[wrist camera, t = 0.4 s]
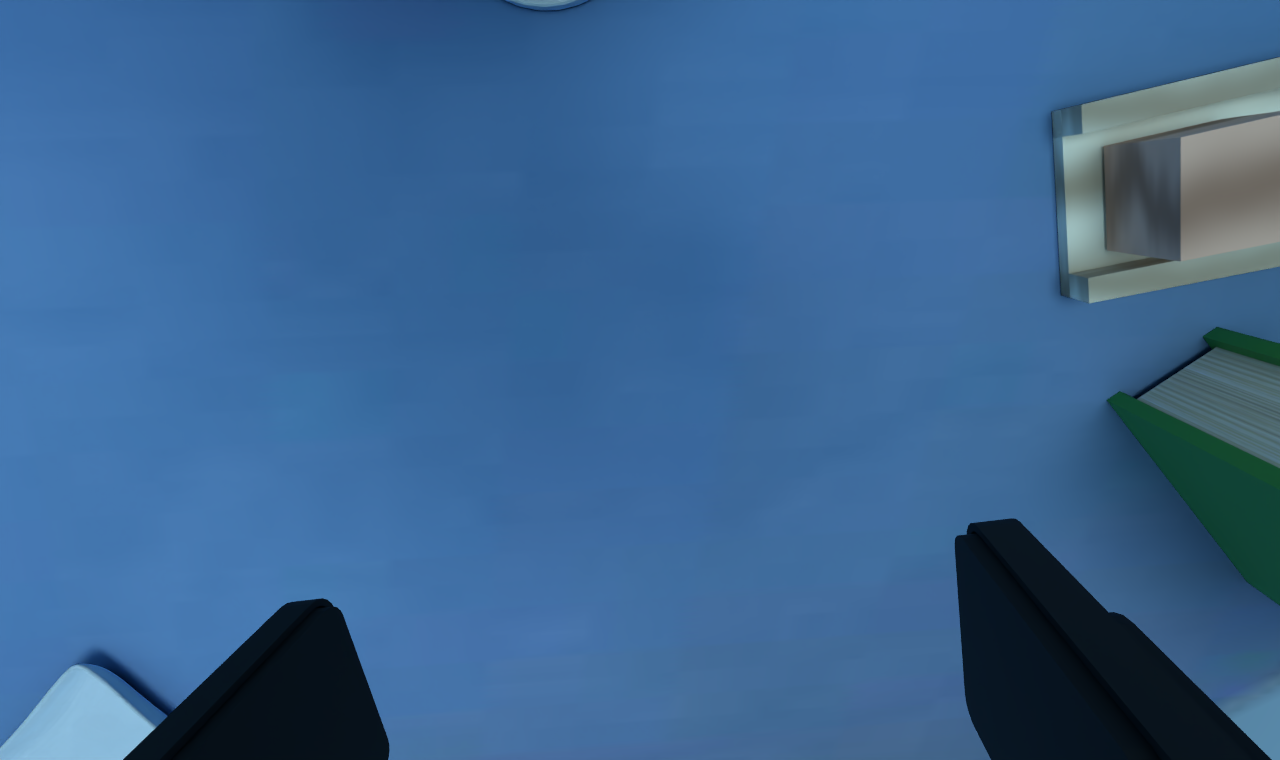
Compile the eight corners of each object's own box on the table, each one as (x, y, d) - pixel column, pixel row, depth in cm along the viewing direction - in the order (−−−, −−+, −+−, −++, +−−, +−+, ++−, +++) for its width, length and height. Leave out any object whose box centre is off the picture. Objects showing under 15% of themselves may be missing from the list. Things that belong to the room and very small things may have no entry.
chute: (1051, 111, 37) (1081, 104, 34) (1452, 15, 33) (1522, -1, 31) (1060, 295, 39) (1089, 303, 37) (1430, 222, 36) (1493, 225, 33)
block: (1103, 145, 36) (1180, 137, 30) (1221, 118, 35) (1323, 104, 29) (1107, 250, 37) (1180, 261, 31) (1219, 227, 36) (1316, 234, 31)
